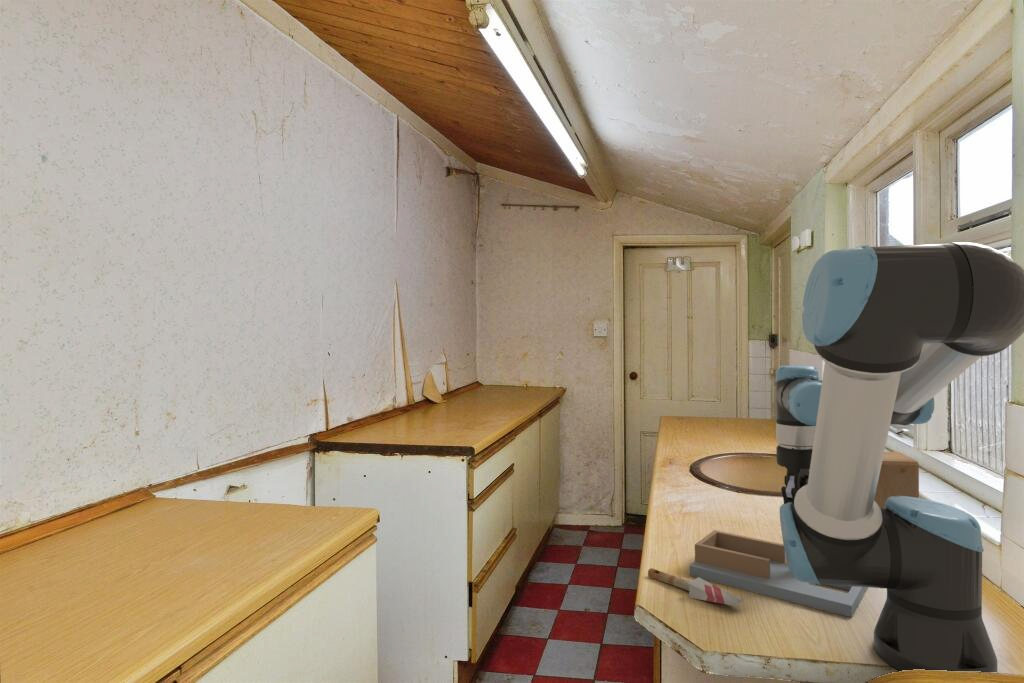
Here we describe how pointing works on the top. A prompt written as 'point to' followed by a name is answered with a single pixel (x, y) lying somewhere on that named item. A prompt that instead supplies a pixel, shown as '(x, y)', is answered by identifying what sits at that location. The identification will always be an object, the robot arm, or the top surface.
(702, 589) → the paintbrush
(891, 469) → the wooden block
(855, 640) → the top surface
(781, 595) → the slate deck with cubby
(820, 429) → the robot arm
